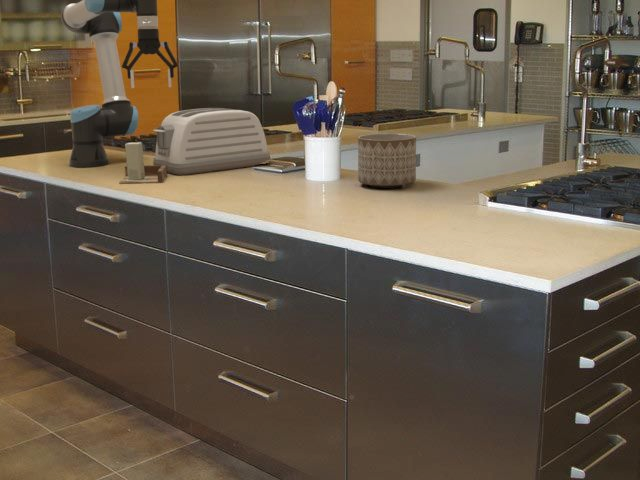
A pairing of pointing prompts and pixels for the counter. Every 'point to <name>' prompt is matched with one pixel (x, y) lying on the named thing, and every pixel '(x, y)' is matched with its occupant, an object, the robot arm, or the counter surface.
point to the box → (135, 160)
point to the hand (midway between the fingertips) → (151, 87)
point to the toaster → (210, 141)
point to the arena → (148, 175)
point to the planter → (387, 159)
